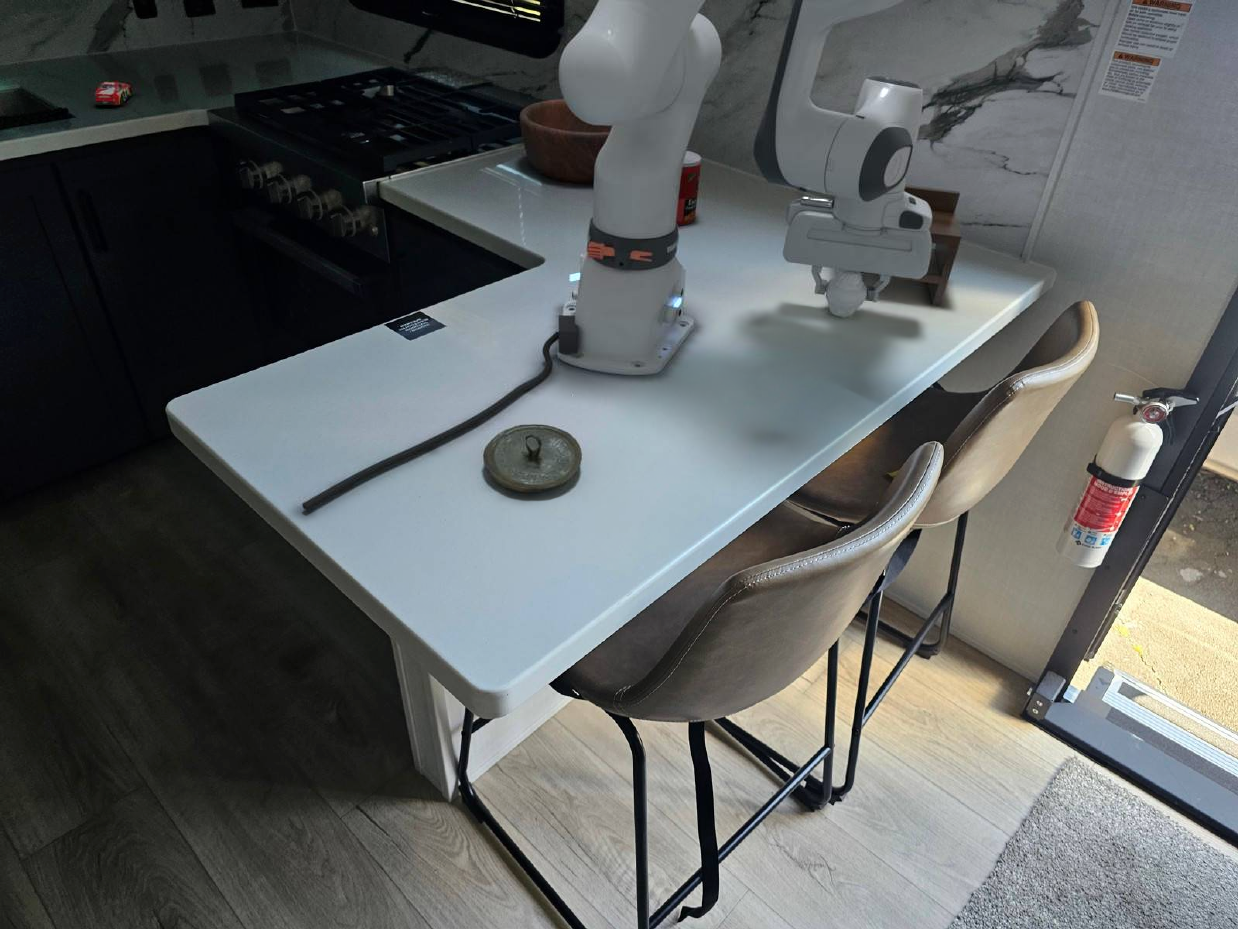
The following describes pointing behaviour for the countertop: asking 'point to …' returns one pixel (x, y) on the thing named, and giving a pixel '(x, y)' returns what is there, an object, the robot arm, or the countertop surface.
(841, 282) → the muffin
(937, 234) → the shelf
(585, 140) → the wooden bowl
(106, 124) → the countertop surface
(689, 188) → the canned food
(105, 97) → the race car
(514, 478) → the lid
